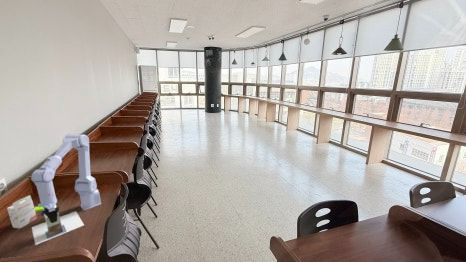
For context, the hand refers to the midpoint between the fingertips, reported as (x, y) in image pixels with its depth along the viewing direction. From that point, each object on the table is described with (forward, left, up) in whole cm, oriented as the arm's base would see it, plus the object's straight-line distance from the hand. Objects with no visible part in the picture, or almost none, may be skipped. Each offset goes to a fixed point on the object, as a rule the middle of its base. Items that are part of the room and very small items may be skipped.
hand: (52, 218), depth 107 cm
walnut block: (0, 0, -7) cm, 7 cm away
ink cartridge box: (+10, -21, -8) cm, 25 cm away
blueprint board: (-2, -4, -8) cm, 9 cm away
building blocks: (+3, -31, -8) cm, 32 cm away
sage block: (0, 0, -2) cm, 2 cm away
